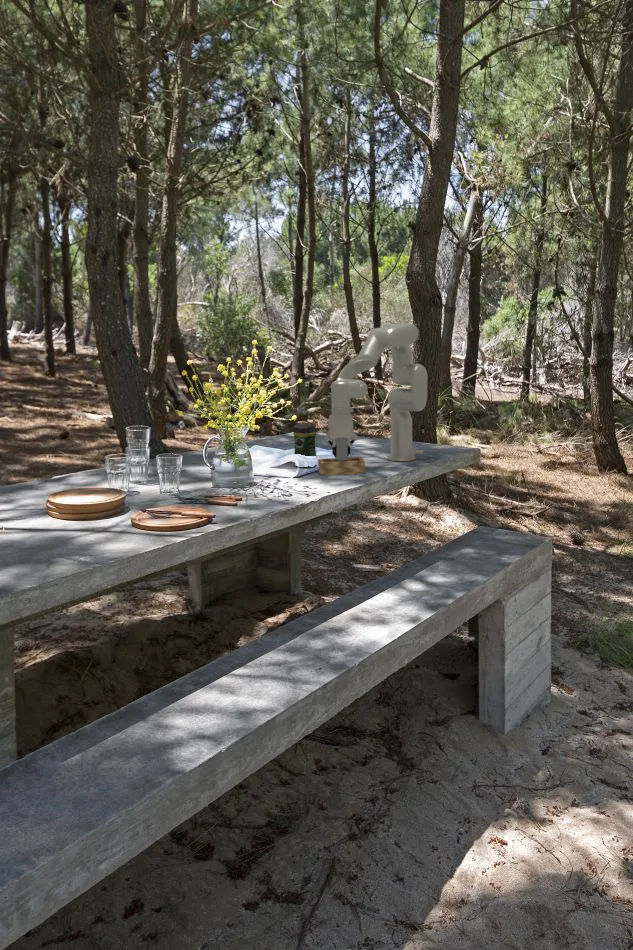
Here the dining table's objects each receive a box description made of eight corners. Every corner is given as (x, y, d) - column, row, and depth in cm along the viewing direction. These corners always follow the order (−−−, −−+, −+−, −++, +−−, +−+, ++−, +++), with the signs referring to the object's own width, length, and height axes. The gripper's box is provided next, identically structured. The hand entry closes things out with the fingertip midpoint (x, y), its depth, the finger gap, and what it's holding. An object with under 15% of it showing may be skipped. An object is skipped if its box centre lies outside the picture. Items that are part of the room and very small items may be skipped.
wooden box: (360, 469, 341) (360, 457, 340) (365, 473, 331) (365, 461, 330) (318, 471, 338) (318, 458, 337) (321, 475, 329) (321, 462, 328)
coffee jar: (320, 466, 350) (319, 423, 346) (307, 469, 344) (306, 425, 340) (303, 464, 356) (302, 421, 352) (291, 466, 350) (289, 424, 347)
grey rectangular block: (345, 462, 337) (345, 436, 334) (347, 464, 332) (347, 437, 330) (335, 463, 336) (334, 436, 334) (336, 464, 332) (336, 438, 330)
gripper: (359, 410, 335) (359, 453, 338) (319, 411, 333) (319, 455, 336) (363, 412, 327) (363, 456, 331) (321, 413, 325) (322, 458, 329)
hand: (341, 455), depth 334 cm, fingers closed on grey rectangular block, 4 cm apart
